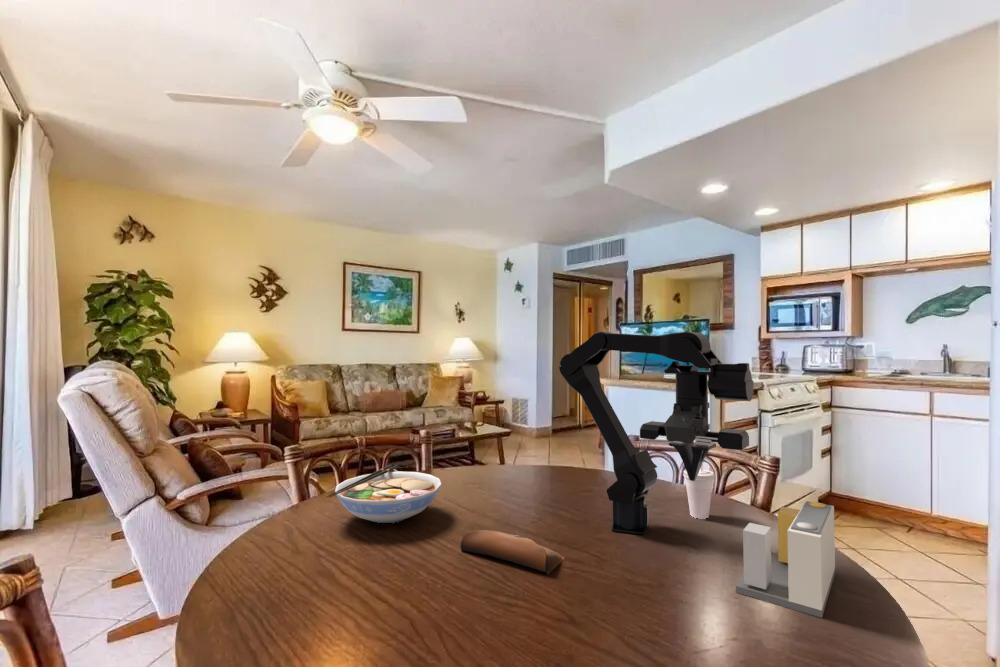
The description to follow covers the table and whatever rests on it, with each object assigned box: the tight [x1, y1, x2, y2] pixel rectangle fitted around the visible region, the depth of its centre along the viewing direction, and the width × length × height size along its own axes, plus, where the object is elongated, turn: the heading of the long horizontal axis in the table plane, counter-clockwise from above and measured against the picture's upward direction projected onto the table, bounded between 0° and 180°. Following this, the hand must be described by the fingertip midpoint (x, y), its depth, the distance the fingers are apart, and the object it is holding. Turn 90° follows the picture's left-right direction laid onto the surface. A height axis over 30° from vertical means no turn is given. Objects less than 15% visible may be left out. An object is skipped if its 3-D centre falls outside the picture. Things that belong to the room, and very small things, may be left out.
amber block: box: [777, 506, 800, 563], centre depth 83 cm, size 3×4×8 cm
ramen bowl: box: [326, 464, 443, 524], centre depth 107 cm, size 25×23×8 cm
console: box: [735, 500, 836, 619], centre depth 78 cm, size 11×17×12 cm, turn 141°
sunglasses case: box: [460, 529, 566, 575], centre depth 88 cm, size 18×7×7 cm, turn 57°
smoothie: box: [682, 461, 715, 520], centre depth 108 cm, size 6×6×14 cm
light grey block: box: [742, 522, 772, 589], centre depth 75 cm, size 3×4×8 cm
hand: (692, 480), depth 93 cm, fingers closed
